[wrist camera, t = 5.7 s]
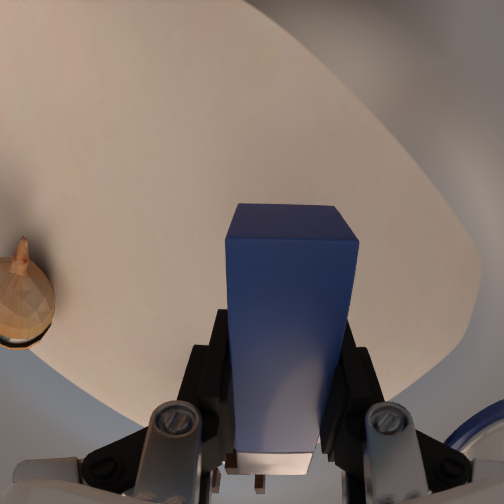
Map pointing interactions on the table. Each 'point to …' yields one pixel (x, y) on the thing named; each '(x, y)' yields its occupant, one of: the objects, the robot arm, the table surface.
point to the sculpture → (24, 300)
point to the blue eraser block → (285, 327)
